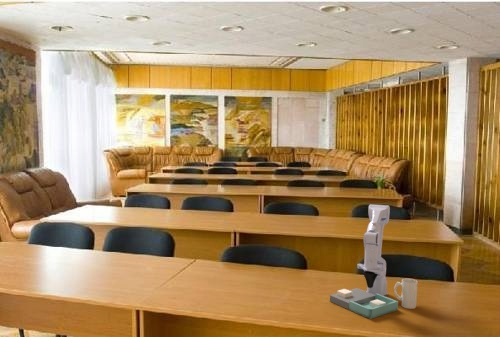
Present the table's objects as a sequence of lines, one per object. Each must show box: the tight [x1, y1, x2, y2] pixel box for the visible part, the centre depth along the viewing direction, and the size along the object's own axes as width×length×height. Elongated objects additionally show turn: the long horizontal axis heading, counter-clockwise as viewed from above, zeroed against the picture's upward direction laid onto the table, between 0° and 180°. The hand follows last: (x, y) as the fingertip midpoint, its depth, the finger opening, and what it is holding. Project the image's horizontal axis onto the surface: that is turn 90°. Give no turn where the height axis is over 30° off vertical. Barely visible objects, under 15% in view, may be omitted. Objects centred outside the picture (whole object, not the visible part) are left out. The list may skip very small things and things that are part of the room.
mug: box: [393, 277, 418, 310], centre depth 216 cm, size 10×7×12 cm, turn 71°
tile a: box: [370, 299, 386, 307], centre depth 214 cm, size 5×5×2 cm
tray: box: [348, 293, 399, 320], centre depth 212 cm, size 18×12×4 cm
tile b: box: [336, 288, 352, 298], centre depth 221 cm, size 5×5×2 cm
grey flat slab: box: [329, 287, 375, 311], centre depth 222 cm, size 18×12×3 cm, turn 124°
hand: (370, 287), depth 217 cm, fingers closed
